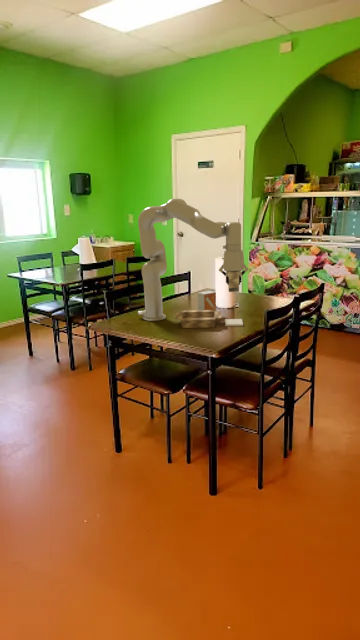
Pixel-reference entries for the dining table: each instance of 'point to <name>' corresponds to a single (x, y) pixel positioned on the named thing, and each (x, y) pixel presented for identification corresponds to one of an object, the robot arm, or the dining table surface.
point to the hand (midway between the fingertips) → (233, 283)
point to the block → (233, 281)
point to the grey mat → (233, 322)
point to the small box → (207, 300)
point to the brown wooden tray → (198, 318)
